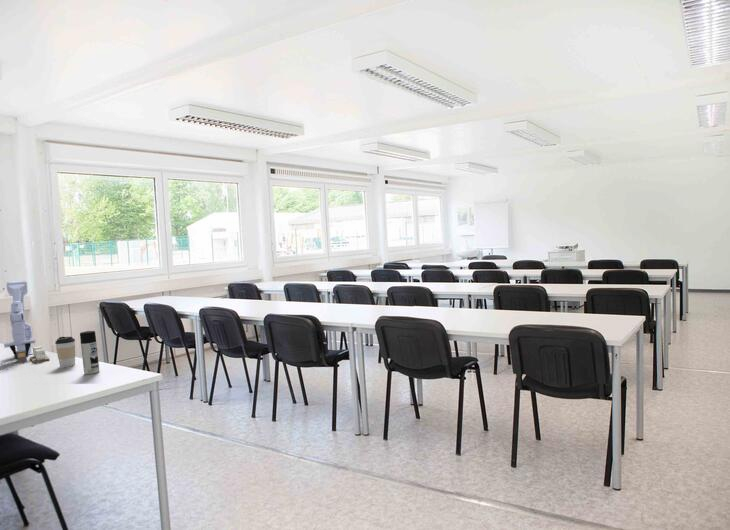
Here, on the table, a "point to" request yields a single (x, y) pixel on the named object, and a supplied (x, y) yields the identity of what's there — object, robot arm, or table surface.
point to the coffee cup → (66, 351)
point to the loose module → (21, 356)
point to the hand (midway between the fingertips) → (21, 357)
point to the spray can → (89, 352)
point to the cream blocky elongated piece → (39, 355)
